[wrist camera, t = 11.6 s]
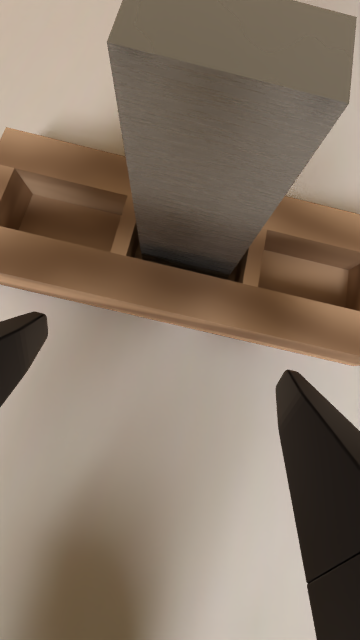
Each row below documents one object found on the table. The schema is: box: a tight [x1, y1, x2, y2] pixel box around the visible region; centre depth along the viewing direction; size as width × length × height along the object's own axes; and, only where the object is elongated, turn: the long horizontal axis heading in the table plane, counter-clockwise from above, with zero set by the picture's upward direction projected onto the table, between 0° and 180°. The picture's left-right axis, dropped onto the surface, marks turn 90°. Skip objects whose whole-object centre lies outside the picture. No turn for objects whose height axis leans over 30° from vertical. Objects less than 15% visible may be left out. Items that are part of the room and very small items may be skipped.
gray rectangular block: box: [107, 0, 357, 280], centre depth 13 cm, size 3×6×13 cm, turn 78°
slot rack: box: [0, 127, 360, 366], centre depth 18 cm, size 10×28×4 cm, turn 77°
